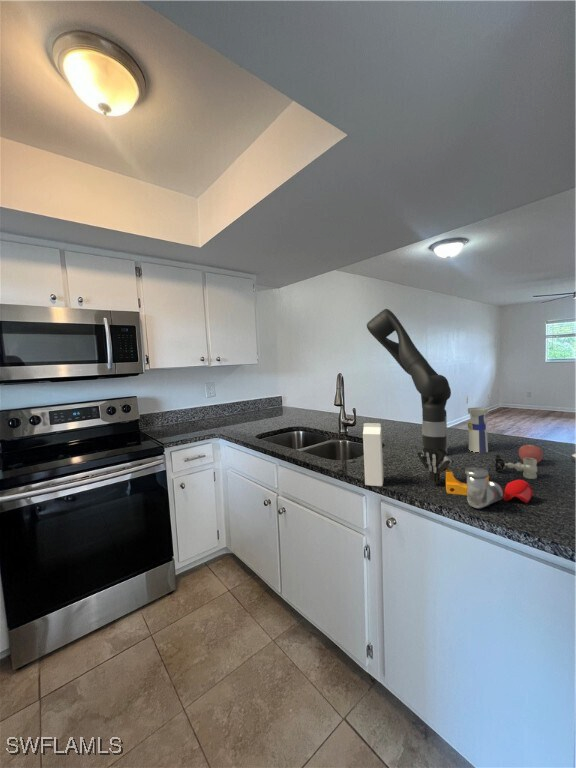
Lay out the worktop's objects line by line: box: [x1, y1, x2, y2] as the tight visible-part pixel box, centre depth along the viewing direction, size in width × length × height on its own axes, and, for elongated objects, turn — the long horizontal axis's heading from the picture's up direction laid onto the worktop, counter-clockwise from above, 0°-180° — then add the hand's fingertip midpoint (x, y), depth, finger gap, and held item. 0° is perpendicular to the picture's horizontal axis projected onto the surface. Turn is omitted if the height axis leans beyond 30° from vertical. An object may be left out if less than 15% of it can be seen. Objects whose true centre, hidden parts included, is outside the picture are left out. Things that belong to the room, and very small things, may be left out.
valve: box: [494, 454, 538, 480], centre depth 113 cm, size 7×7×12 cm
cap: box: [503, 479, 534, 504], centre depth 94 cm, size 8×6×6 cm
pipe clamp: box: [445, 469, 490, 496], centre depth 101 cm, size 12×4×6 cm, turn 68°
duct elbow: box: [464, 466, 505, 510], centre depth 92 cm, size 11×6×11 cm, turn 118°
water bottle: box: [466, 396, 489, 454], centre depth 141 cm, size 8×9×25 cm
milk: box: [362, 422, 384, 487], centre depth 113 cm, size 6×6×22 cm
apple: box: [518, 443, 544, 464], centre depth 123 cm, size 7×7×8 cm
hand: (435, 482), depth 108 cm, fingers closed
